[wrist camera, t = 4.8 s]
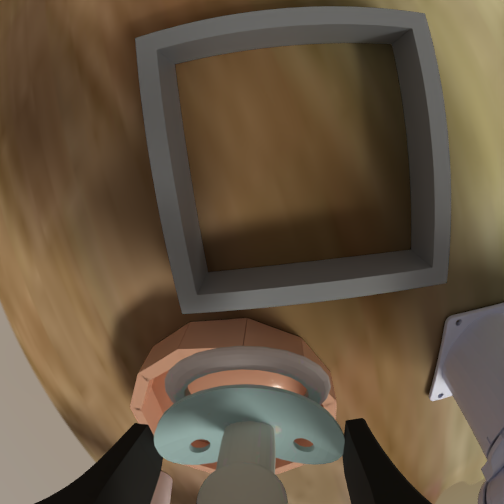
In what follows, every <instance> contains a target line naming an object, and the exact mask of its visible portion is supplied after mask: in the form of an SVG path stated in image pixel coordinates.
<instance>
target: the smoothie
mask: <svg viewBox="0 0 504 504" xmlns="http://www.w3.org/2000/svg"><path fill="white" fill-rule="evenodd" d="M172 482H173V480H172V478H171V477H170V476H169V475H168V474H166V473H165V472H163V471H160V476H159V479H158V482H157V485H156V488H155V491H154V494H153V497H152V500H151V503H150V504H170V499H171V490H172Z"/></svg>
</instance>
